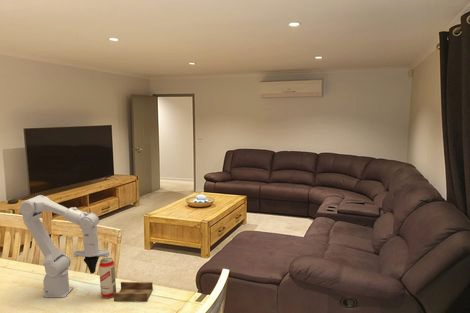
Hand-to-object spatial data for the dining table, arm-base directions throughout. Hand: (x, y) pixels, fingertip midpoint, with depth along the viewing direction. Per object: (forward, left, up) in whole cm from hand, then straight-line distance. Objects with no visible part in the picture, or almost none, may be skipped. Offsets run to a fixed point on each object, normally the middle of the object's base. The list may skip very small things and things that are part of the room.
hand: (92, 272), depth 153 cm
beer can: (+6, 0, -11) cm, 12 cm away
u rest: (+17, 0, -10) cm, 20 cm away
